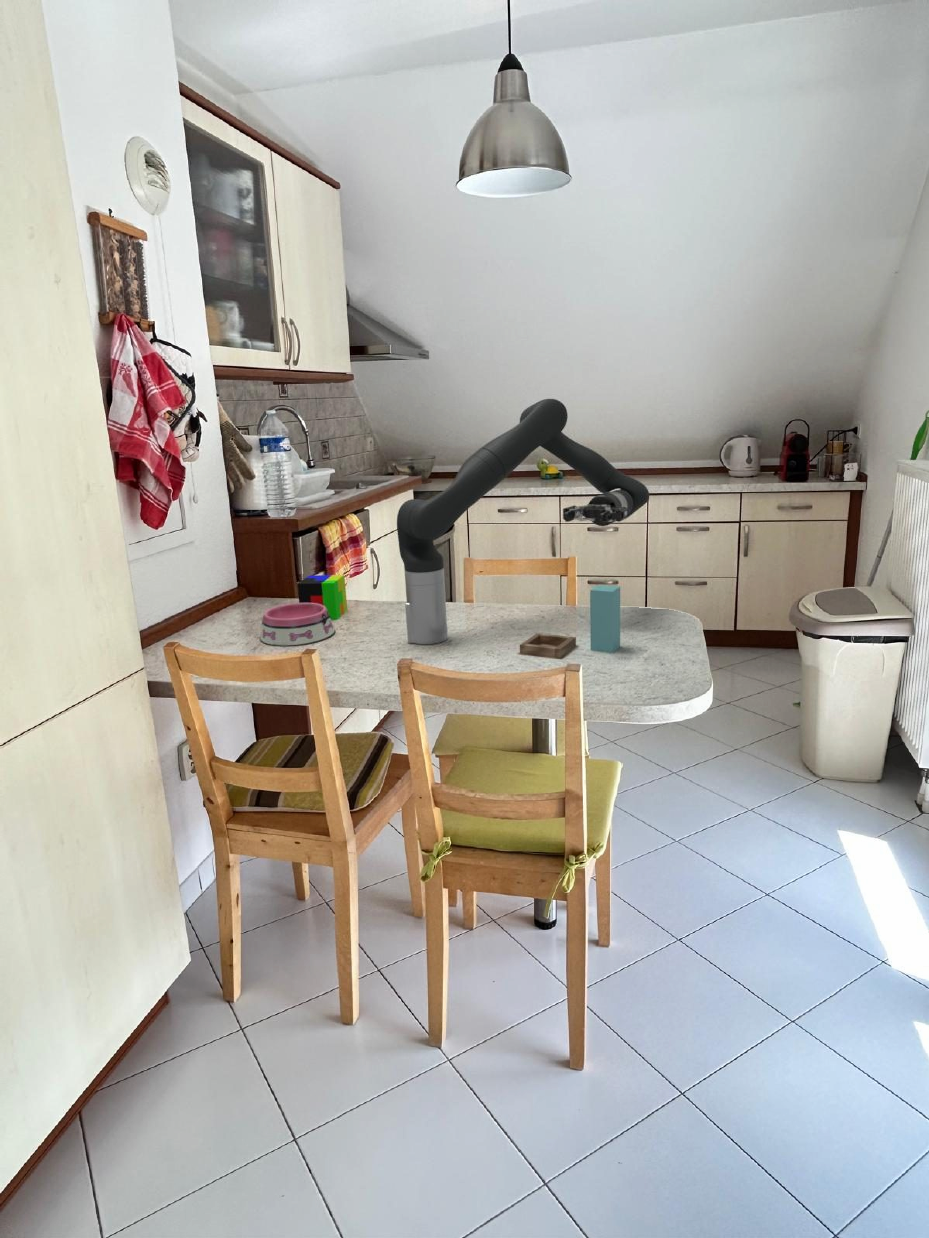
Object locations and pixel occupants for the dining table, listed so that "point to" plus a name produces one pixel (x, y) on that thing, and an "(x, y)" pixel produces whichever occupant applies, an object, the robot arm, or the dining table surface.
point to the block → (605, 618)
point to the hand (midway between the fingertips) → (584, 517)
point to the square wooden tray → (548, 646)
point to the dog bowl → (296, 625)
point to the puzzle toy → (325, 593)
